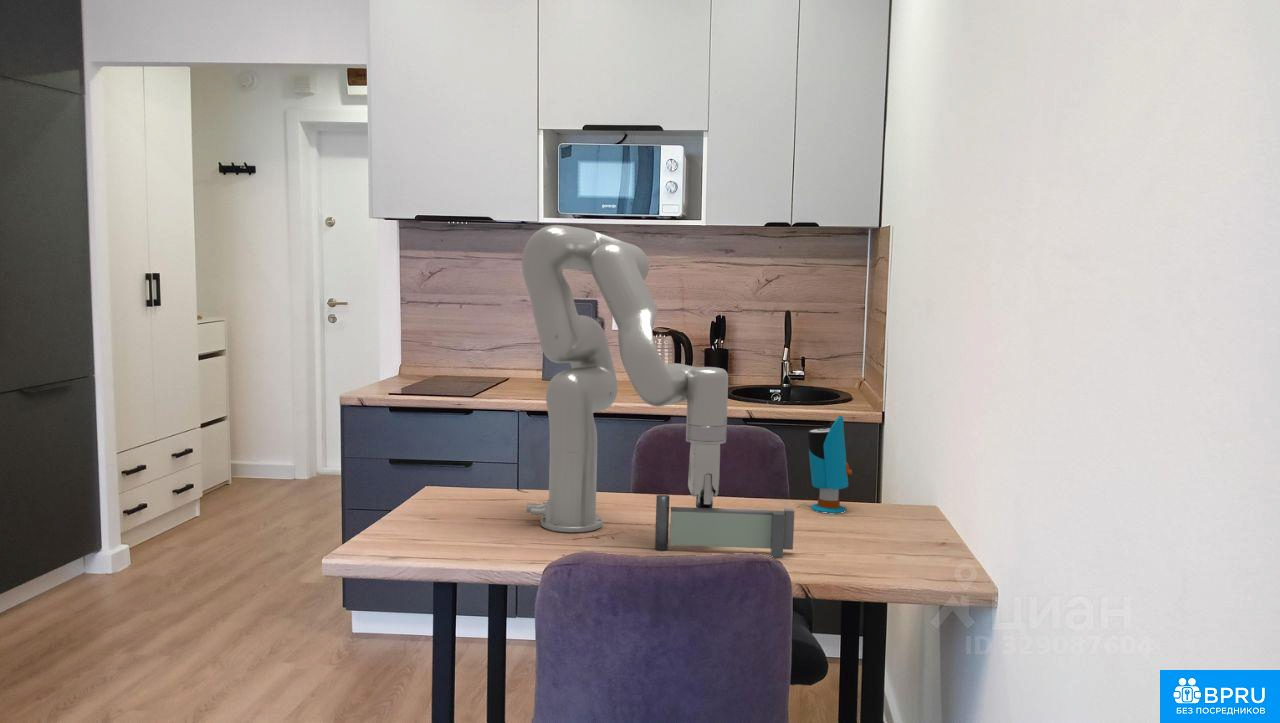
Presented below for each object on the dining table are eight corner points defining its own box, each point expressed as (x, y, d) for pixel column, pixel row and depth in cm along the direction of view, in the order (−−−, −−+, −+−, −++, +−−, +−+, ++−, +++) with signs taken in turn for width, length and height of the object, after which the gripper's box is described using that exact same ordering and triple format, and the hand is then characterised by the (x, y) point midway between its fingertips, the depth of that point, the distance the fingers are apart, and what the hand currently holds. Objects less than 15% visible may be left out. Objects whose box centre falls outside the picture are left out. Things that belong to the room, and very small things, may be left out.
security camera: (808, 411, 209) (854, 413, 207) (804, 503, 211) (849, 507, 209) (807, 416, 201) (855, 418, 199) (803, 512, 202) (850, 516, 200)
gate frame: (654, 550, 170) (655, 497, 169) (655, 546, 173) (657, 494, 172) (782, 558, 167) (785, 504, 167) (782, 554, 170) (784, 501, 169)
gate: (669, 545, 170) (670, 506, 170) (669, 542, 172) (670, 504, 171) (792, 549, 170) (794, 511, 169) (791, 547, 171) (793, 509, 171)
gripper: (682, 427, 180) (680, 519, 181) (689, 439, 165) (687, 540, 166) (721, 427, 180) (718, 520, 182) (731, 440, 165) (728, 541, 167)
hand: (703, 529), depth 174 cm, fingers closed
